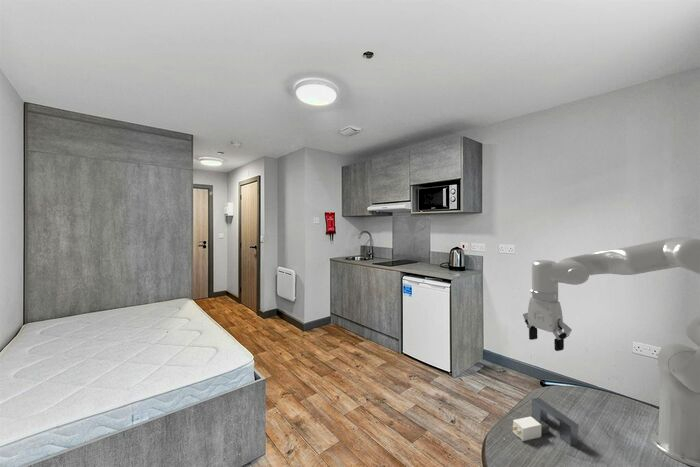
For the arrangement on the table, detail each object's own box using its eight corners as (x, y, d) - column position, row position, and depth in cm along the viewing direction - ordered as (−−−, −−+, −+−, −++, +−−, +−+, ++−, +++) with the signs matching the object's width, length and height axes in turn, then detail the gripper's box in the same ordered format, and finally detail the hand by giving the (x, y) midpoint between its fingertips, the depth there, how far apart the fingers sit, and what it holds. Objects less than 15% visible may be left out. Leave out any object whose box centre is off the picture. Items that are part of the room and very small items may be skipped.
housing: (538, 413, 102) (538, 397, 101) (578, 443, 88) (578, 424, 88) (531, 415, 101) (531, 398, 101) (570, 445, 87) (570, 426, 87)
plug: (540, 425, 96) (540, 414, 96) (551, 434, 92) (551, 422, 92) (510, 432, 93) (510, 420, 93) (520, 441, 89) (520, 429, 89)
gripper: (515, 291, 107) (516, 336, 107) (561, 303, 90) (561, 356, 90) (531, 289, 109) (532, 334, 109) (578, 301, 92) (579, 353, 92)
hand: (545, 344), depth 100 cm, fingers open, 9 cm apart
